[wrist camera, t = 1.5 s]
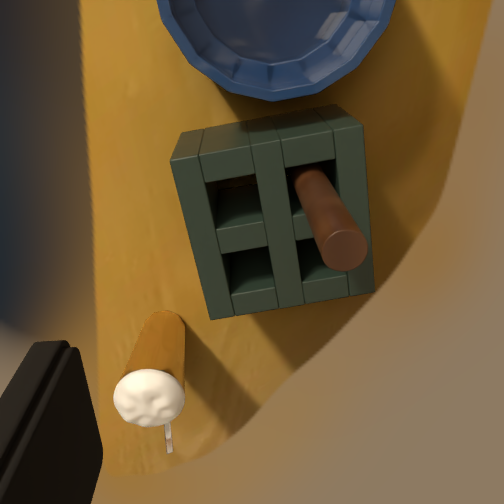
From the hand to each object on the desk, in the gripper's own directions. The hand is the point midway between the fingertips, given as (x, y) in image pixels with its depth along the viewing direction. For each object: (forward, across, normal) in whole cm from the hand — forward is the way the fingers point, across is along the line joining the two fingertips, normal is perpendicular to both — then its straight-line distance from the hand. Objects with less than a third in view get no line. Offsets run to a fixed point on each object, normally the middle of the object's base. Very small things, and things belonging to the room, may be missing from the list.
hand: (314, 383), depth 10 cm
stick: (+25, -3, +2) cm, 25 cm away
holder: (+25, -1, +4) cm, 25 cm away
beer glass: (+25, +8, +16) cm, 30 cm away
